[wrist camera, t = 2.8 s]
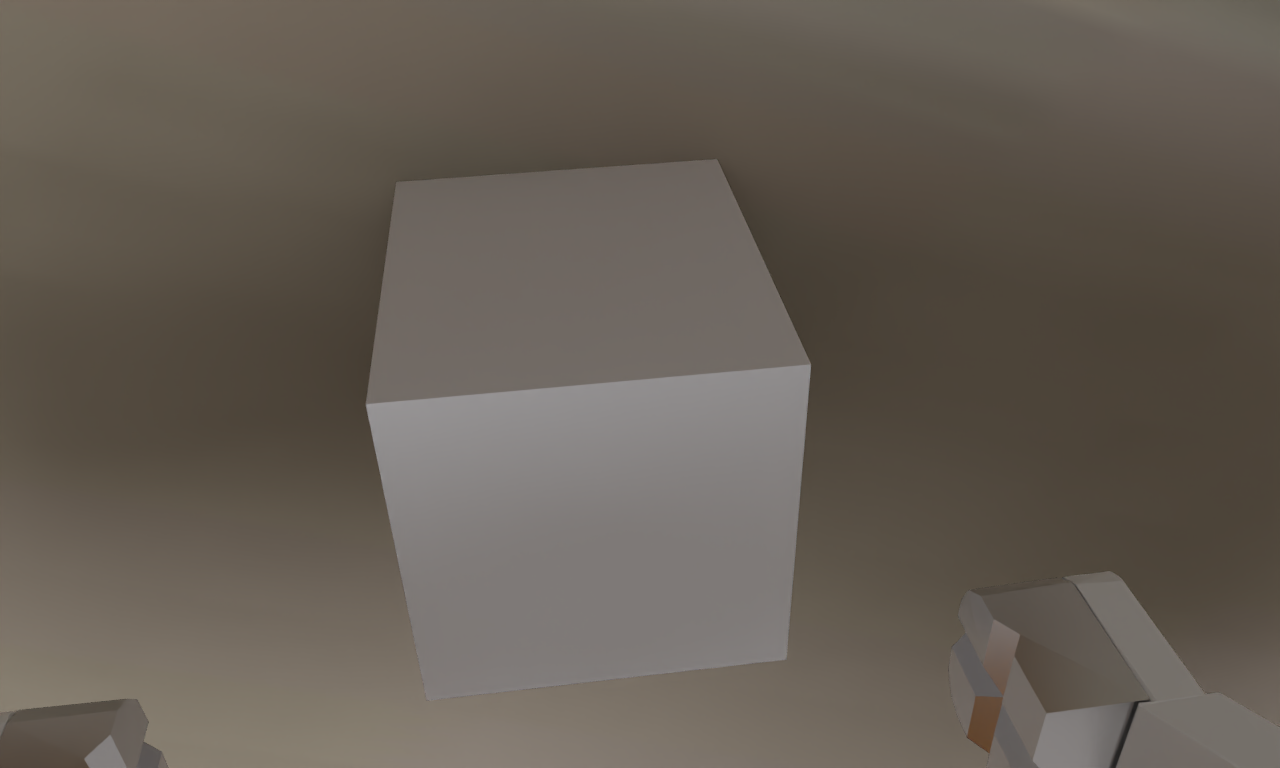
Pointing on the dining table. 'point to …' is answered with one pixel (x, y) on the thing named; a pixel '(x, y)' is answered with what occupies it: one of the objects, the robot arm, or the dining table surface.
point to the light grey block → (586, 427)
